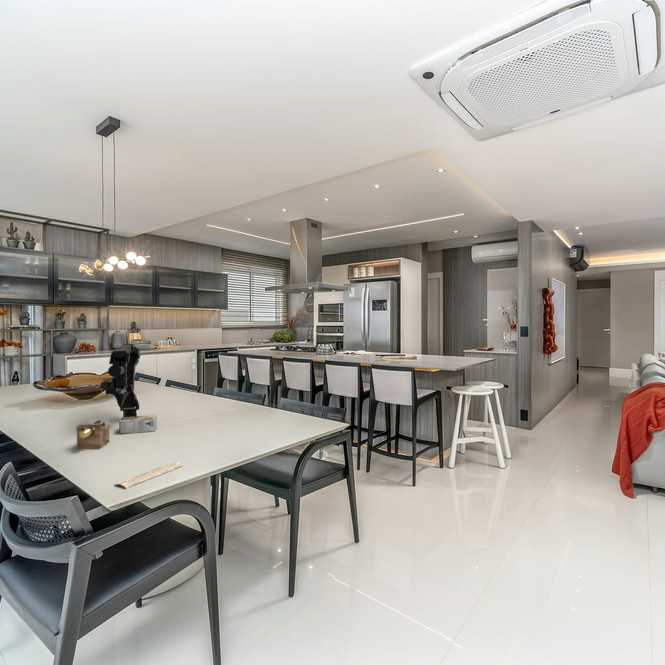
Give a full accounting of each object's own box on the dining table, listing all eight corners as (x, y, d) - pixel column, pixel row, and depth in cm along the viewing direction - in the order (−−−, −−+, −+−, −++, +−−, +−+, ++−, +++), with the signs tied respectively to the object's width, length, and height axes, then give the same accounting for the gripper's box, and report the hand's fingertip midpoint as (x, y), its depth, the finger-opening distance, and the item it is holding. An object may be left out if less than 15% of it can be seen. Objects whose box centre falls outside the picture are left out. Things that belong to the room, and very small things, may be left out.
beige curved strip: (126, 491, 130) (126, 485, 130) (112, 487, 134) (112, 481, 134) (183, 468, 151) (183, 463, 151) (170, 465, 155) (170, 460, 155)
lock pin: (94, 430, 183) (94, 420, 183) (105, 429, 184) (105, 419, 184) (77, 440, 166) (76, 430, 166) (88, 440, 167) (88, 429, 167)
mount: (87, 443, 181) (87, 420, 181) (109, 442, 182) (109, 419, 182) (77, 450, 171) (76, 425, 171) (100, 449, 172) (99, 424, 172)
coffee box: (157, 427, 209) (122, 429, 204) (156, 414, 209) (122, 417, 204) (155, 431, 200) (119, 434, 195) (155, 418, 200) (118, 421, 195)
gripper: (112, 374, 212) (112, 404, 211) (93, 377, 193) (93, 410, 193) (134, 373, 213) (134, 403, 212) (118, 376, 194) (118, 409, 194)
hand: (120, 406), depth 203 cm, fingers closed
